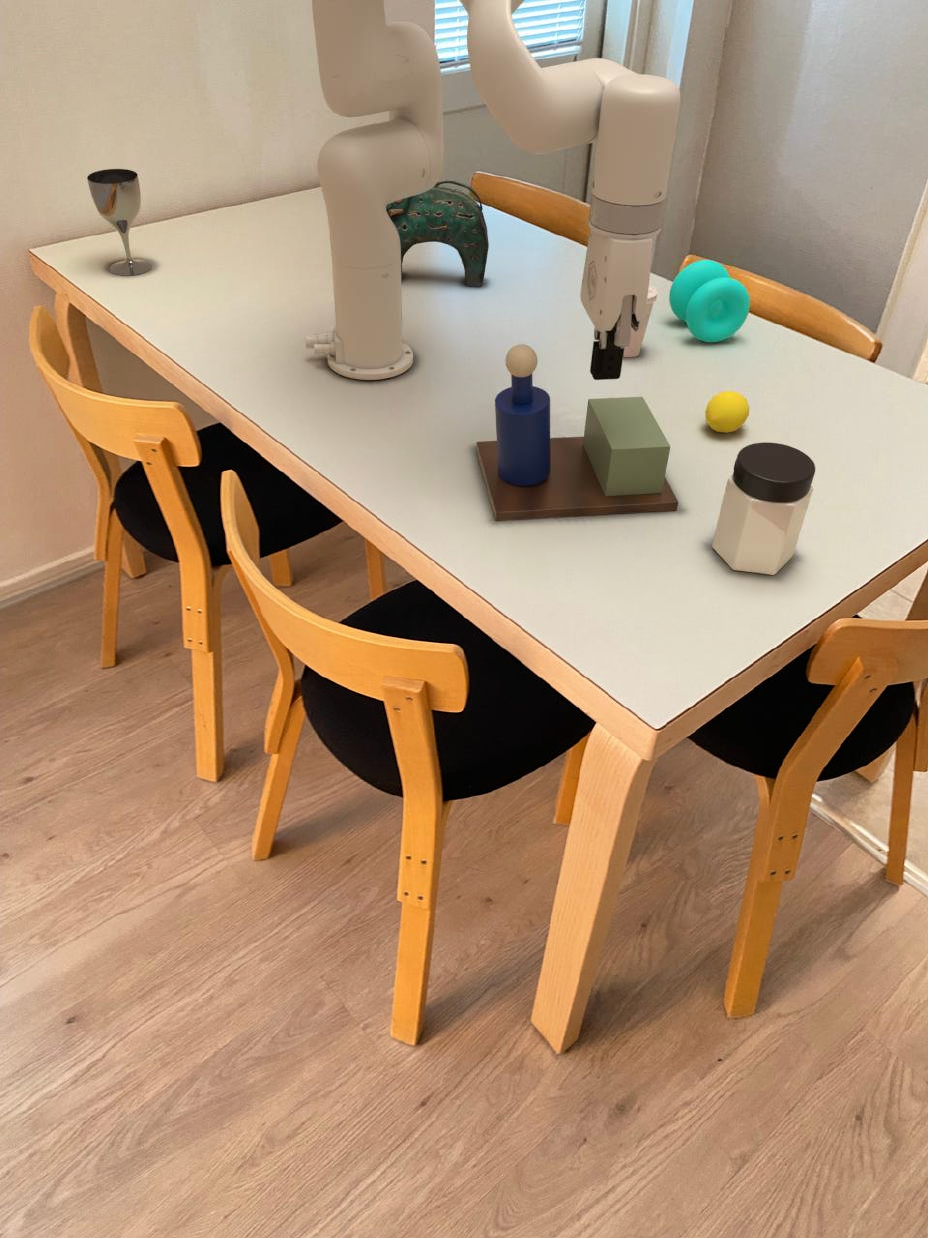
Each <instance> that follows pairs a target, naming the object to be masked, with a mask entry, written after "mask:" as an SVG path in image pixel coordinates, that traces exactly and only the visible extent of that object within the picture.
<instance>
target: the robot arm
mask: <svg viewBox="0 0 928 1238" xmlns="http://www.w3.org/2000/svg"><path fill="white" fill-rule="evenodd" d="M459 2H460V4H461V5H462V6H463V8H464V10H465V12H466V13H467V16H468V18H467V19H468V21H467V28H466V47H467V48H466V49H467V57H468V63H469V68H470V72H471V77H472V80H473V83H474V85H475V88H476V91H477V92H478V94H479V96H480V98H481V100H482V101H483V103H484V104H485V106H486V107H487V109H488V111H489V112H490V113H491V114H492V117H493V118H494V120H495V121H496V123H497V124H498V126H499V127H500V128H501V130H502V132H504V134H505V135H506V136H507V137H508V138H509V139H510V141H512V143H513V144H514V145H516V146H517V147H518V148H519V149H521V150H522V151H524V152H525V153H529V154H532V155H537V156H539V155H541V156H542V155H549V154H553V153H557V152H560V151H564V150H567V149H571V148H574V147H577V146H583V145H588V144H594V143H595V144H596V149H595V150H596V151H595V158H594V168H593V176H592V177H593V179H592V187H591V197H590V205H589V214H588V215H589V216H588V228H589V229H590V232H589V237H588V241H587V248H586V254H585V259H584V260H585V261H584V266H583V272H582V279H581V280H582V281H581V286H580V294H579V296H580V302H581V304H582V307H583V308H584V309H585V312H586V315H587V316H588V318H589V319H590V321H591V323H592V325H593V326H594V330H593V338H594V339H593V341H592V351H591V352H592V353H591V360H590V367H589V372H590V374H591V376H592V379H593V380H594V381H603V380H604V381H605V380H606V381H607V380H619V379H620V378H621V374H622V368H623V367H622V366H623V361H624V357H623V354H624V348H625V346H629V344H630V332H631V327H632V328H633V330H634V331H638V330H639V329H640V328H641V327H642V324H643V320H644V315H645V310H646V304H647V296H648V288H649V285H650V278H651V267H652V258H653V255H652V254H653V242H654V240H653V239H654V237H656V236H658V235H659V234H660V233H661V231H662V224H663V218H664V211H665V205H666V198H667V193H668V186H669V179H670V173H671V168H672V160H673V155H674V154H673V153H674V147H675V141H676V135H677V129H678V123H679V115H680V109H681V102H682V101H681V100H682V98H681V91H680V88H679V86H678V84H676V83H675V82H674V81H672V80H670V79H669V78H667V77H664V76H663V77H662V76H658V75H652V74H644V73H643V74H642V73H637V72H635V71H634V70H631V69H629V68H627V67H625V66H624V65H621V64H620V63H618V62H615V61H614V60H611V59H608V58H601V57H591V58H587V59H582V60H577V61H571V62H565V63H560V64H556V65H549V66H546V67H541V66H540V65H539V64H538V62H537V61H536V59H535V58H534V56H533V55H532V54H531V52H530V50H529V49H528V47H527V46H526V44H525V43H524V41H523V40H522V38H521V36H520V34H519V32H518V30H517V27H516V26H515V23H514V19H513V18H514V17H513V14H515V12H516V11H517V10H518V8H519V7H520V6H521V5H522V4H523V3H524V2H525V0H459ZM311 8H312V18H313V19H312V20H313V27H314V36H315V48H316V55H317V56H316V57H317V65H318V75H319V81H320V86H321V87H320V88H321V91H322V95H323V98H324V101H325V103H326V105H327V107H328V108H329V109H330V110H331V111H332V113H334V114H335V115H338V116H340V117H345V118H358V117H365V116H371V115H376V114H381V113H384V112H388V117H389V118H388V119H389V120H386V121H382V122H378V123H376V122H375V123H371V124H365V125H362V126H357V127H353V128H349V129H346V130H342V131H340V132H338V133H336V134H334V135H332V136H331V137H329V139H327V141H325V142H324V143H323V145H322V146H321V148H320V151H319V153H318V156H317V163H316V164H317V165H316V167H317V176H318V177H317V178H318V181H319V186H320V190H321V193H322V197H323V201H324V205H325V210H326V216H327V224H328V233H329V244H330V256H331V270H332V271H331V272H332V273H331V274H332V285H333V287H332V288H333V302H334V303H333V304H334V317H335V325H333V331H327V332H326V333H327V334H316V333H315V334H313V333H312V334H305V335H304V336H305V348H306V349H314V355H323V354H327V364H328V366H329V368H330V369H331V370H332V371H334V372H335V373H337V374H338V375H340V376H343V377H345V378H349V379H354V380H361V381H378V380H379V381H380V380H387V379H391V378H394V377H397V376H400V375H401V374H404V373H405V372H407V371H408V370H410V368H411V367H412V366H413V364H414V351H413V349H412V348H411V347H410V346H409V345H408V344H407V343H406V342H403V301H402V300H403V297H402V294H403V293H402V291H403V289H402V275H401V245H400V238H399V234H398V231H397V229H396V227H395V225H394V224H393V222H392V221H391V219H390V217H389V216H388V214H387V211H386V206H387V204H390V203H393V202H395V201H397V200H401V199H404V198H408V197H411V196H415V195H418V194H421V193H424V192H426V191H428V190H430V189H431V188H433V187H434V186H435V185H436V184H437V183H438V182H439V180H440V179H441V176H442V173H443V169H444V163H445V137H444V134H445V133H444V109H443V108H444V107H443V83H442V69H441V64H440V59H439V56H438V52H437V50H436V46H435V44H434V43H433V40H432V38H431V37H430V35H429V34H428V33H427V31H426V30H425V29H424V28H422V26H420V25H418V24H417V23H414V22H412V21H407V20H406V21H405V20H397V21H389V22H387V20H386V13H385V0H311Z"/></svg>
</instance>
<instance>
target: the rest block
mask: <svg viewBox="0 0 928 1238" xmlns="http://www.w3.org/2000/svg"><path fill="white" fill-rule="evenodd" d="M586 406H587V407H586V415H585V422H584V423H585V424H584V431H583V437H584V439H583V446H584V448H585V450H586V453H587V455H588V457H589V460H590V462H591V464H592V467H593V469H594V471H595V474H596V476H597V478H598V480H599V483H600V485H601V487H602V490H603V492H604V494H605V496H620V495H638V494H656V493H662V489H663V484H664V478H666V472H667V468H668V467H667V466H668V463H669V457H670V453H671V445H670V443H669V441H668V439H667V438H666V435H665V434H664V432H663V430H662V428H661V427H660V425H659V422H657V420H656V418H655V416H654V414H653V412H652V411H651V408H650V407H649V404H647V402H646V400H645V398H644V397H643V396H629V397H628V396H627V397H625V396H623V397H605V398H603V397H601V398H588V399H587V405H586Z"/></svg>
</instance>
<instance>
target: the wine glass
mask: <svg viewBox="0 0 928 1238" xmlns="http://www.w3.org/2000/svg"><path fill="white" fill-rule="evenodd" d="M86 180H87V184H88V189H89V191H90V192H89V193H90V196H91V198H92V202H93V204H94V206H95V208H96V211H97V212H98V213H99V216H101V217H102V219H104V220H105V221H106V222H107V223H108V224H110V225H111V226H112V227H113V228H114V229H115V230H116V231H117V232H118V234H119V236H120V238H121V241H122V244H123V247H124V251H125V257H126V259H123V260H120V261H117V262H115V263H113V264H111V265H110V266H109V272H111V273H112V274H114V275H117V276H125V277H126V276H127V277H128V276H137V275H142V274H145V273H148V272H149V271H150V270H152V268H153V264H152V262H150V261H148V260H144V259H133V258H132V254H131V248H130V239H129V236H130V230H131V227H132V225H133V224H134V223H135V220H136V219H137V217H138V216H139V214H140V211H141V203H142V197H141V196H142V195H141V194H142V193H141V185H140V178H139V174H138V173H137V172H136V171H134V170H131V169H127V168H108V169H102V170H101V169H100V170H97V171H94V172H91V173H90V174H88V176H87V177H86Z"/></svg>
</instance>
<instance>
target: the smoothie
mask: <svg viewBox="0 0 928 1238" xmlns="http://www.w3.org/2000/svg"><path fill="white" fill-rule="evenodd" d="M657 299H658V289H657V288H656V287H655V286H653V285H651V284H649V288H648V296H647V304H646V310H645V315H644V320H643V324H642V327H641V328H640V329H639V330H638V331H634V330H633V328H632V327H631V332H630V344H629V346H625V348H624V354H623V358H635V357H638V356H639V355H640V352H641V349H642V345H643V341H644V338H645V335H646V331H647V328H648V323H649V320H650V317H651V313H652V310H653V307H654V303H655V302H656V301H657Z"/></svg>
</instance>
